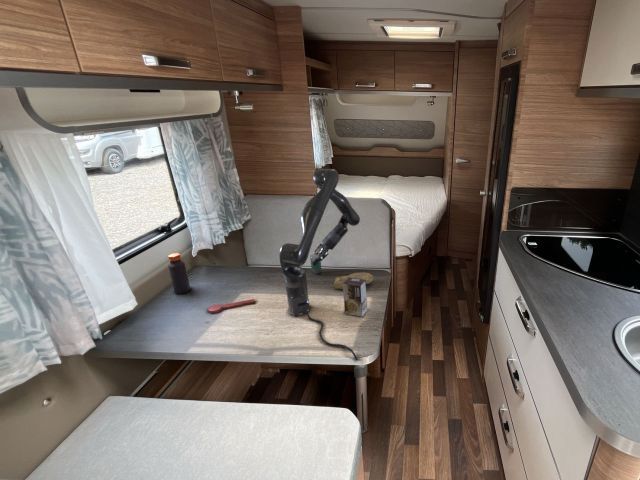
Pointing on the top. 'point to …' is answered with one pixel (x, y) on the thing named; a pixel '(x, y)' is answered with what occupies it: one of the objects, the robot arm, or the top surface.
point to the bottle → (178, 274)
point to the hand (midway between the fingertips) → (312, 262)
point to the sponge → (342, 279)
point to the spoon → (228, 306)
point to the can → (316, 267)
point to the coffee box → (355, 296)
